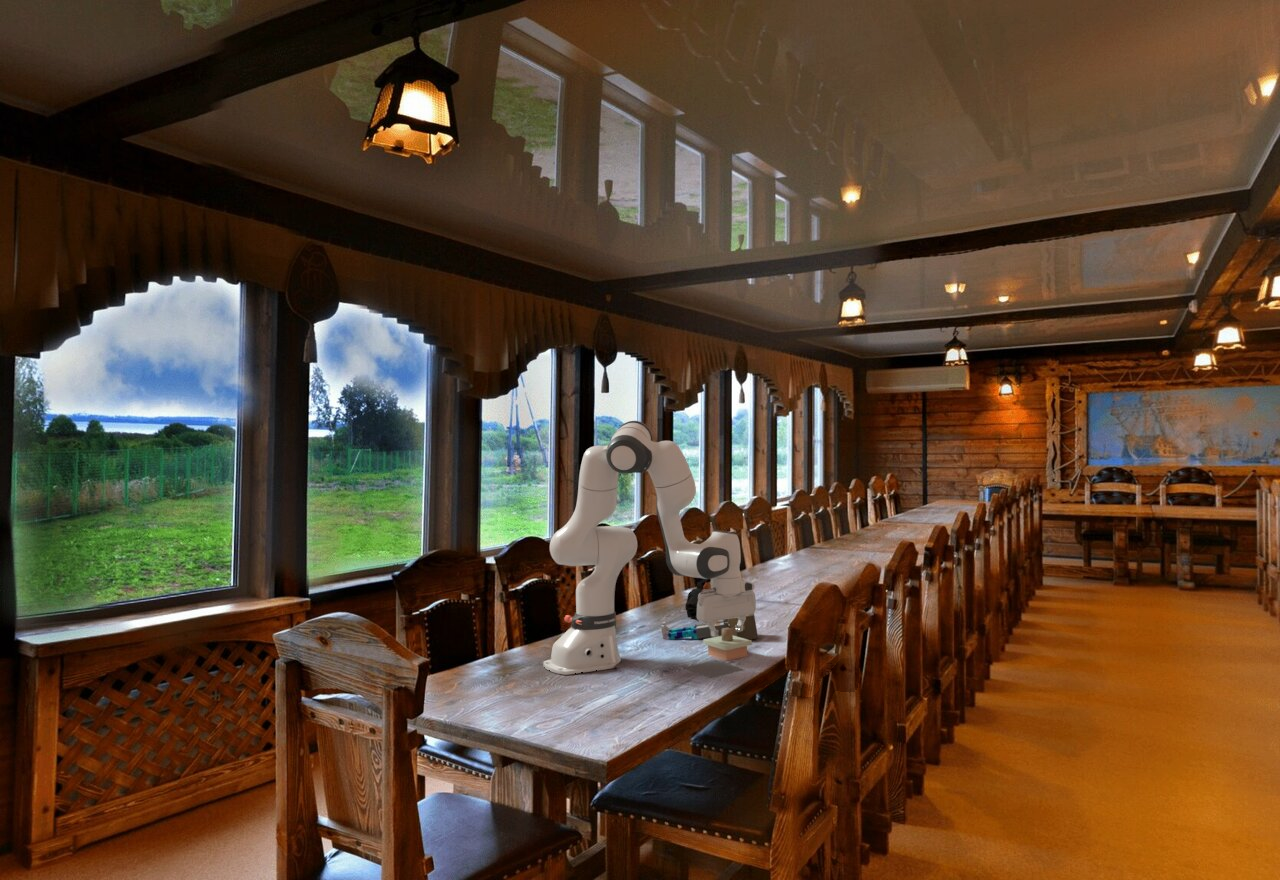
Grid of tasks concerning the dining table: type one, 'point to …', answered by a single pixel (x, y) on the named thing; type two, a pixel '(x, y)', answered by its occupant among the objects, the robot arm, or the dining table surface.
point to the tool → (695, 598)
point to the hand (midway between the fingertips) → (727, 633)
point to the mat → (714, 668)
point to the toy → (705, 631)
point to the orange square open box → (727, 653)
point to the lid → (727, 640)
